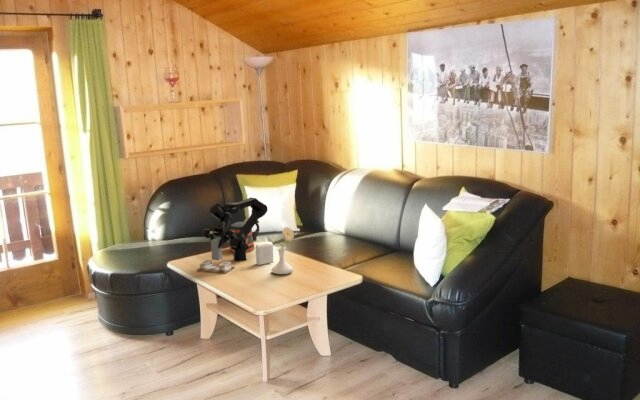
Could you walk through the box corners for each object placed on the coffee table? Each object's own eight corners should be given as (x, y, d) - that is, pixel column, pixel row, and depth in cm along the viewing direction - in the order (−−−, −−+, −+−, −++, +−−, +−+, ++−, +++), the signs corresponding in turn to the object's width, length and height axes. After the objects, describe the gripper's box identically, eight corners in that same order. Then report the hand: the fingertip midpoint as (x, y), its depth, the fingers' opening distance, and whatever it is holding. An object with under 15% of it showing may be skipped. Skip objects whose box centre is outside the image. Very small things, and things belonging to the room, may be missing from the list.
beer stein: (254, 243, 377) (252, 213, 373) (264, 249, 365) (263, 217, 361) (226, 248, 368) (224, 217, 364) (235, 254, 355) (234, 222, 351)
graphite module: (215, 257, 327) (214, 238, 325) (222, 258, 326) (220, 238, 324) (212, 259, 324) (210, 240, 321) (218, 260, 322) (217, 240, 320)
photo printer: (271, 260, 342) (270, 239, 339) (274, 262, 338) (273, 241, 336) (255, 263, 336) (254, 242, 334) (258, 265, 333) (257, 244, 330)
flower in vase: (276, 277, 312) (274, 231, 307) (268, 271, 322) (266, 227, 317) (299, 273, 318) (297, 228, 313) (290, 267, 328) (288, 223, 323)
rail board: (196, 271, 327) (196, 263, 326) (206, 265, 336) (205, 258, 335) (225, 273, 321) (225, 266, 320) (234, 268, 330) (234, 261, 329)
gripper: (202, 214, 327) (193, 239, 319) (233, 216, 321) (224, 241, 313) (210, 225, 336) (202, 249, 328) (240, 226, 330) (232, 251, 322)
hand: (215, 247), depth 322 cm, fingers closed on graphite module, 4 cm apart
